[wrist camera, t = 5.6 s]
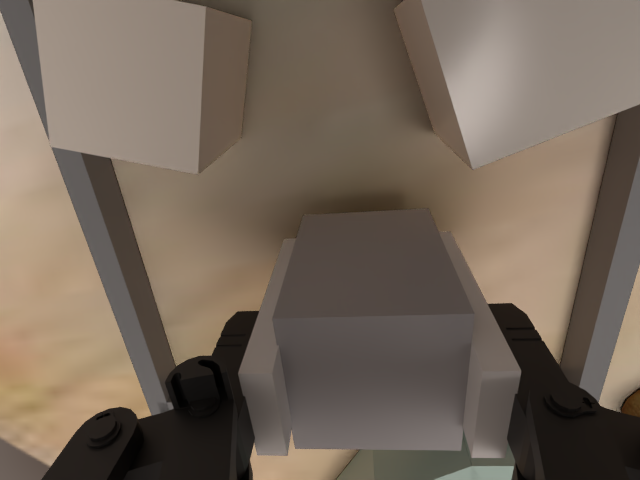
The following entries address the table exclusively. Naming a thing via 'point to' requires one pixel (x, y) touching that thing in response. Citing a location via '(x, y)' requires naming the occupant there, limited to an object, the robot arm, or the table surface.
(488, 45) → the pale grey block
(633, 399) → the stone
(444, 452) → the bowl
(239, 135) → the light grey block
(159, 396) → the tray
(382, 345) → the grey square pillar
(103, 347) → the table surface
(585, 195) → the table surface
